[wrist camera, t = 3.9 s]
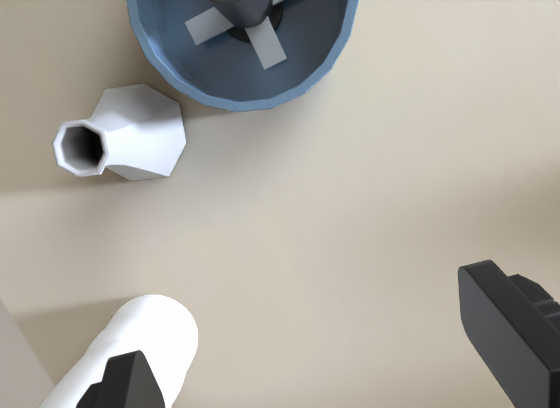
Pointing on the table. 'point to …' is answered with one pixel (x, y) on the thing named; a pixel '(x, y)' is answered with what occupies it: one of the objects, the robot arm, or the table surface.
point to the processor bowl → (242, 52)
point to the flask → (123, 136)
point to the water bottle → (135, 348)
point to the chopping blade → (243, 26)
